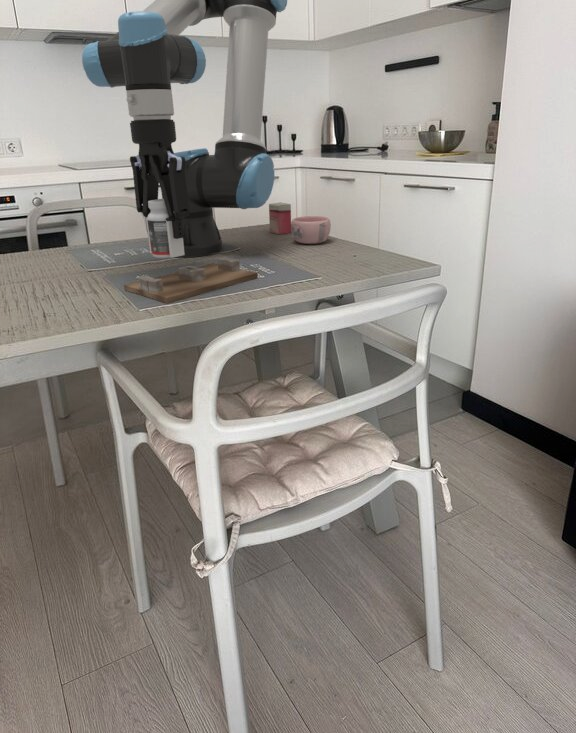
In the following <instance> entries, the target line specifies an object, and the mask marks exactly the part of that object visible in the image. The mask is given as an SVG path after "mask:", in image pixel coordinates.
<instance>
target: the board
mask: <svg viewBox="0 0 576 733" xmlns="http://www.w3.org/2000/svg"><path fill="white" fill-rule="evenodd" d="M216 261H217V263H215V262H214V263H213V262H212V263H210V264H209V263H208V264H205V265H201V266H196V267H194V266H192V265H184V266H180V267H179V268H177V271H176V272H172V273H169V274H164V275H159V276H155V277H150V276H149V275H145V276H139V277H138V281H134V282H131V283H127V284H124V285H123V289H124V291H126V290H127V292H129V291H130V292H129V293H132V292H133V293H132V294H136V293H137V295H140V296H142V295H143V297H145V296H147V298H148V297H150V298H149V299H152V298H153V299H152V300H155V299H156V300H155V301H158V300H159V301H158V302H162V303H164V302H165V303H166V304H170V303H174V302H177V301H180V299H181V300H184V299H187V297H188V298H191V297H194V296H198V294H199V295H201V293H202V294H205V293H204V292H206V293H208V292H212V290H213V291H216V290H219V289H223V288H227V287H230V286H233V284H234V285H238V284H240V283H241V284H242V283H244V282H247V281H251V280H255V279H257V278H258V272H255V271H252V270H251V271H250V270H246V269H241V267H240V265H241V264H240V263H241V262H240V260H238V259H235V258H231V257H220V258H217V260H216ZM226 286H227V287H226ZM183 298H184V299H183ZM165 303H164V304H165Z"/></svg>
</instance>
